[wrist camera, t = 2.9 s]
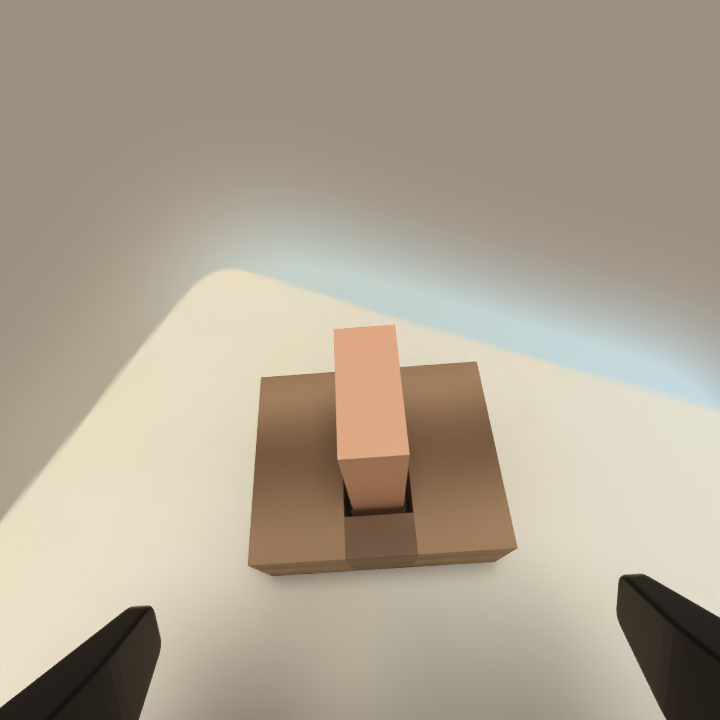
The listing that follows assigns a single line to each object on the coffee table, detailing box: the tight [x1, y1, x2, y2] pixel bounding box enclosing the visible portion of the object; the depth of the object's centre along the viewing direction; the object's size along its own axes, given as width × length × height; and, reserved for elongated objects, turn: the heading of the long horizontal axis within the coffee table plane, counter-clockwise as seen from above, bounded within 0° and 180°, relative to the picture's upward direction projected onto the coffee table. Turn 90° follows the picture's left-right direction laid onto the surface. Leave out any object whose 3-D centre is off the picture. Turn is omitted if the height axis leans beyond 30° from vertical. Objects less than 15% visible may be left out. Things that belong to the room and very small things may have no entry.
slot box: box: [248, 362, 517, 576], centre depth 20 cm, size 8×10×4 cm
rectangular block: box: [334, 325, 410, 516], centre depth 18 cm, size 4×2×10 cm, turn 3°
